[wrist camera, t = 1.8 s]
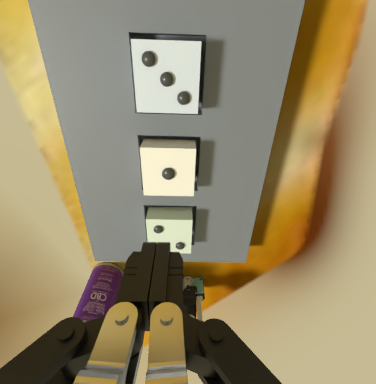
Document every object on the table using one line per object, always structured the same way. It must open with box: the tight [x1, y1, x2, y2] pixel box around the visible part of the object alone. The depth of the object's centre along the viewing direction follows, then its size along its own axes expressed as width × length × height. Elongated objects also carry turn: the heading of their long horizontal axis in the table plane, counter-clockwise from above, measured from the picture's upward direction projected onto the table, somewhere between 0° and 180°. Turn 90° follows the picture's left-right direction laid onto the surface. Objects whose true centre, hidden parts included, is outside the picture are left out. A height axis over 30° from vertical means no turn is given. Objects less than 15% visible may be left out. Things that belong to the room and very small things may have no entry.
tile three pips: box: [131, 39, 201, 114], centre depth 18 cm, size 5×5×3 cm
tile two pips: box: [146, 206, 193, 254], centre depth 27 cm, size 5×5×3 cm
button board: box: [28, 0, 305, 262], centre depth 25 cm, size 28×20×3 cm
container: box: [73, 262, 123, 322], centre depth 29 cm, size 5×5×15 cm
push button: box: [182, 276, 205, 321], centre depth 33 cm, size 7×5×10 cm
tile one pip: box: [140, 139, 196, 196], centre depth 23 cm, size 5×5×3 cm
